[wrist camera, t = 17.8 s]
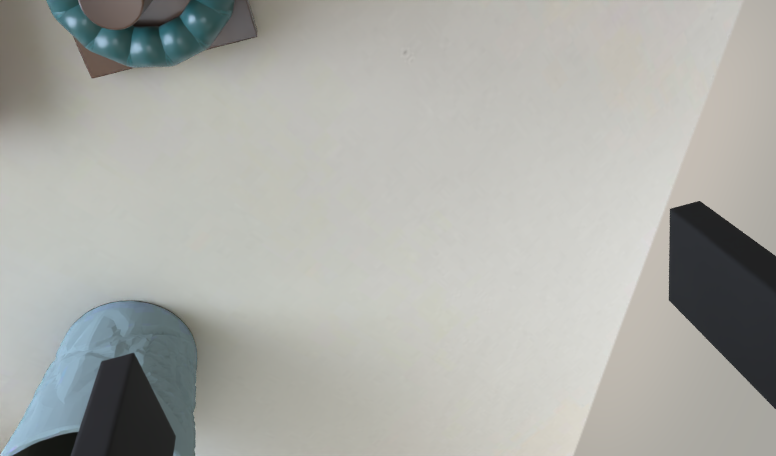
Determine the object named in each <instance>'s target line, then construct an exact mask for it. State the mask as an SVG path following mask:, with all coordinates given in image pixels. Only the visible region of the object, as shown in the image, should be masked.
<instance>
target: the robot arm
mask: <svg viewBox="0 0 776 456" xmlns="http://www.w3.org/2000/svg"><path fill="white" fill-rule="evenodd" d="M669 252H670V254H669V256H670V258H669V260H670V261H669V301H670V302H671V303H672V304H673V305H674V306H675V307H676V308H677V309H678V310H679V311H680V312H681V313H682V314H683V315H684V316H685V317H686V318H687V319H688V320H689V321H690V322H691V323H692V324H693V325H694V326H695V327H696V328H697V329H698V330H699V331H700V332H701V333H702V334H703V335H704V336H705V337H706V339H707V340H708V341H709V342H710V343H711V344H712V345H713V346H714V347H715V348H716V349H717V350H718V351H719V352H720V353H721V354H722V355H723V356H724V357H725V358H726V359H727V360H728V361H729V362H730V363H731V364H732V365H733V366H734V367H735V368H736V369H737V370H738V371H739V372H740V373H741V374H742V375H743V376H744V377H745V378H746V379H747V380H748V381H749V382H750V383H751V384H752V386H754V388H755V389H756V390H757V391H758V392H759V393H760V394H761V395H762V396H763V397H764V398H765V399H767V401H768V402H769V403H770V404H771V405H772V406H773V407H774V408H775V409H776V256H775V255H773V254H772V253H771V252H769V251H768V250H767V249H765V248H764V247H762V246H761V245H760V244H758V243H757V242H755V241H754V240H753V239H751V238H750V237H749V236H747V235H746V234H744V233H743V232H742V231H740V230H739V229H738V228H736V227H735V226H733V225H732V224H731V223H729V222H728V221H727V220H725V219H724V218H722V217H721V216H720V215H718V214H717V213H716V212H714V211H713V210H711V209H710V208H709V207H707V206H706V205H704V204H703V203H702V202H700V201H698V202H694V203H690V204H687V205H683V206H679V207H675V208H672V209H670V251H669ZM175 440H176V435H175V433H174V431H173V429H172V427H171V425H170V423H169V421H168V419H167V417H166V415H165V413H164V411H163V409H162V407H161V405H160V403H159V401H158V399H157V397H156V395H155V393H154V391H153V389H152V387H151V385H150V383H149V381H148V379H147V377H146V375H145V373H144V371H143V369H142V367H141V365H140V363H139V361H138V359H137V357H136V355H135V353H130V354H127V355H123V356H119V357H116V358H112V359H108V360H104V361H101V364H100V367H99V370H98V373H97V376H96V379H95V382H94V385H93V388H92V391H91V395H90V398H89V401H88V404H87V407H86V410H85V413H84V416H83V419H82V422H81V425H80V428H79V432H78V435H77V438H76V441H75V444H74V447H73V450H72V453H71V456H173V453H174V447H175Z"/></svg>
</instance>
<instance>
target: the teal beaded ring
mask: <svg viewBox="0 0 776 456" xmlns="http://www.w3.org/2000/svg"><path fill="white" fill-rule="evenodd" d="M46 1H47V3H48V6H49V8H50V10H51V12H52V14H53V16H54V17H55V19H56V20H57V21H58V22H59V23H60V24H61V25H62V26H63V27H64V28H65V29H66V30H68V31H69V32H70V33H71V34H72V35H73V36H74V37H75V38H76V39H77V40H78V41H79V42H80V43H81V44H82V45H83V46H84V47H85V48H87V49H88V50H89V51H91V52H93V53H96V54H98V55H101V56H103V57H106V58H108V59H111V60H113V61H116V62H118V63H121V64H123V65H126V66H129V67H170V66H175V65H177V64H179V63H181V62H183V61H185V60H187V59H189V58H191V57H193V56H195V55H196V54H198V53H200V52H202V51H204V50H206V49H207V48H209V47H210V46H211V44H212V43H213V42H214V40H215V39H216V37H217V36H218V35H219V33H220V32H221V30H222V29H223V27H224V26H225V24H226V23H227V22H228V20H229V19H230V17H231V15H232V12H233V7H234V0H190V2H189V3H188V5H187V6H186V8H185V9H184V11H183V12H182V14H181V15H180V16H178V17H176V18H174V19H173V20H171V21H169V22H167V23H165V24H163V25H161V26H142V27H135V26H133V25H132V26H130V27H128V28H125V29H122V30H110V29H106V28H103V27H100V26H98V25H97V24H95V23H93V22H92V21H91V20H90V19H89V18H88V17H87V16H86V15H85V14H84V12H83V11H82V9H81V7H80V5H79V2H78V0H46Z"/></svg>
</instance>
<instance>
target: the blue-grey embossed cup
mask: <svg viewBox="0 0 776 456" xmlns="http://www.w3.org/2000/svg"><path fill="white" fill-rule="evenodd" d="M130 353H135V355H136V357H137V359H138V361H139V363H140V365H141V367H142V369H143V371H144V373H145V375H146V377H147V379H148V381H149V383H150V385H151V387H152V389H153V391H154V393H155V395H156V397H157V399H158V401H159V403H160V405H161V407H162V409H163V411H164V413H165V415H166V417H167V419H168V421H169V423H170V425H171V427H172V429H173V431H174V433H175V435H176V440H175V447H174V453H173V456H195V451H194V449H195V434H196V433H195V422H194V416H193V412H194V409H195V406H196V402H195V397H196V386H195V383H196V369H197V350H196V345H195V342H194V339H193V336H192V334H191V332H190V330H189V329H188V328H187V326H186V325H185V324H184V323H183V322H182V321H181V320H180V319H179V318H178V317H177V316H175V315H174V314H173V313H171V312H169V311H168V310H166V309H164V308H161V307H159V306H156V305H153V304H150V303H144V302H139V301H121V302H112V303H109V304H105V305H102V306H99V307H97V308H95V309H93V310H91V311H89V312H87V313H86V314H85V315H83V316H82V317H81V318H80V319H78V320H77V321H76V322H75V323H74V324H73V325H72V326H71V328H70V329H69V331H68V332H67V334H66V336H65V338H64V340H63V342H62V344H61V346H60V347H59V349H58V351H57V354H56V360H55V361H54V362H52V364H51V365H50V367H49V368H48V369H47V371H46V373H45V375H44V377H43V380H42V382H41V383H40V385H39V387H38V388H37V390H36V392H35V395H34V397H33V400H32V401H31V403H30V405H29V406H28V408H27V410H26V413H25V415H24V417H23V418H22V420H21V422H20V423H19V425H18V427H17V429H16V430H15V432H14V433H13V435H12V436H11V438H10V440H9V442H8V443H7V445H6V447H5V448H4V450H3V452H2V453H1V455H0V456H71V453H72V450H73V447H74V444H75V441H76V438H77V435H78V432H79V428H80V425H81V422H82V419H83V416H84V413H85V410H86V407H87V404H88V401H89V398H90V395H91V391H92V388H93V385H94V382H95V379H96V376H97V373H98V370H99V367H100V364H101V361H104V360H108V359H112V358H116V357H119V356H123V355H127V354H130Z"/></svg>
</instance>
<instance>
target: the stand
mask: <svg viewBox="0 0 776 456" xmlns="http://www.w3.org/2000/svg"><path fill="white" fill-rule="evenodd" d="M78 2H79V5H80V7H81V9H82V11H83V12H84V14H85V15H86V16H87V17H88V18H89V19H90V20H91V21H92V22H93V23H95V24H97V25H98V26H100V27H103V28H106V29H110V30H122V29H125V28H128V27H130V26H132V25H133V26H135V27H142V26H161V25H163V24H165V23H167V22H169V21H171V20H173V19H174V18H176V17H178V16H180V15H181V14H182V12H183V11H184V9H185V8H186V6H187V5H188V3H189V2H190V0H78ZM73 37H74V36H73ZM255 37H257V28H256V25H255V22H254V18H253V15H252V12H251V8H250V5H249V2H248V0H234V7H233V12H232V15H231V17H230V19H229V20H228V22H227V23H226V24H225V26H224V27H223V29H222V30H221V32H220V33H219V35H218V36H217V37H216V39H215V40H214V42H213V43H212V44H211V46H210V47H209V48H207V49H211V48H215V47H219V46H223V45H227V44H231V43H235V42H239V41H243V40H247V39H251V38H255ZM74 40H75V42H76V44H77V46H78V49H79V51H80V53H81V56H82V58H83V60H84V62H85V65H86V67H87V69H88V72H89V74H90V76H91V78H96V77H100V76H104V75H108V74H112V73H116V72H120V71H124V70H128V69H132V68H136V67H129V66H126V65H123V64H121V63H118V62H116V61H113V60H111V59H108V58H106V57H103V56H101V55H98V54H96V53H93V52H91V51H89V50H88V49H87V48H85V47H84V46H83V45H82V44H81V43H80V42H79V41H78V40H77V39H76V38H75V37H74ZM207 49H206V50H207Z"/></svg>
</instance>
